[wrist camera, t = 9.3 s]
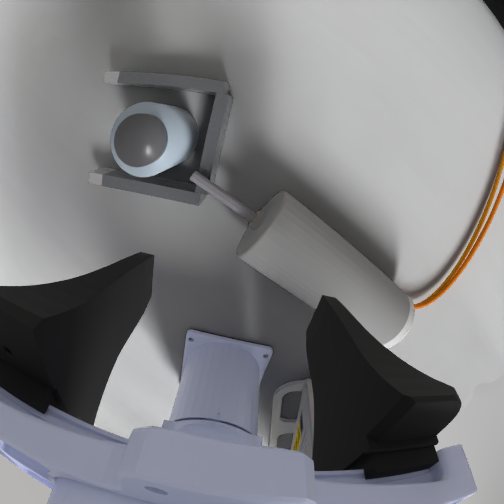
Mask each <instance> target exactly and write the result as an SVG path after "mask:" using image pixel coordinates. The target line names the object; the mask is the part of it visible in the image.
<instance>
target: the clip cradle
mask: <svg viewBox="0 0 504 504" xmlns="http://www.w3.org/2000/svg"><path fill="white" fill-rule="evenodd" d="M103 82H104V83H109V84H114V85H127V86H143V87H156V88H166V89H175V90H183V91H191V92H198V93H205V94H211V95H216V96H215V100H214V105H213V109H212V113H211V117H210V121H209V126H208V130H207V135H206V139H205V144H204V149H203V153H202V158H201V163H200V168H199V173H200V174H201V175H203V176H204V177H206V178H207V179H208V180H210V181H211V182H213V183H214V180H215V176H216V171H217V166H218V162H219V157H220V153H221V148H222V144H223V140H224V135H225V131H226V127H227V123H228V118H229V114H230V110H231V106H232V102H233V98H232V97H231V96H230V95H228V94H229V90H230V86H229V84H228V83H227V82H225V81H219V80H213V79H206V78H199V77H191V76H183V75H173V74H162V73H147V72H120V71H105V75H104V79H103ZM88 183H91V184H96V185H101V186H106V187H112V188H117V189H122V190H127V191H132V192H137V193H142V194H146V195H151V196H156V197H161V198H165V199H170V200H175V201H179V202H184V203H188V204H193V205H197V206H199V205H200V203H201V202H202V201H203V200H204V199H205V197H206V195H207V194H208V192H207V191H205V190H204V189H203V188H201V187H200V186H198V185H197V184H191V183H187V182H182V181H177V180H172V179H167V178H162V177H157V176H150V177H137V176H133V175H131V174H129V173H127V172H125V171H124V170H118V169H112V168H106V167H103V168H100V169H97V170H94V171H92V172H89V182H88Z"/></svg>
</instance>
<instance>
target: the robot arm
mask: <svg viewBox="0 0 504 504" xmlns="http://www.w3.org/2000/svg"><path fill="white" fill-rule="evenodd" d="M153 264H154V255H150V254H146V253H143V252H140V253H137V254H134V255H132V256H130V257H127V258H125V259H123V260H120V261H118V262H116V263H114V264H111V265H109V266H107V267H104V268H101V269H99V270H96V271H94V272H91V273H88V274H85V275H82V276H79V277H75V278H72V279H68V280H64V281H58V282H53V283H48V284H41V285H32V286H0V454H1V455H2V456H4V457H5V458H7V459H8V460H9V461H10V462H12V463H13V464H15V465H16V466H17V467H19V468H20V469H22V470H23V471H24V472H26V473H27V474H29V475H30V476H32V477H33V478H35V479H37V480H38V481H39V482H41V483H43V484H44V485H46V486H48V487H49V488H51V489H52V492H51V494H50V497H49V500H48V502H47V504H457V503H459V502H461V501H462V500H464V499H466V498H467V497H469V496H471V495H472V494H474V493H475V492H476V491H477V487H476V484H475V482H474V478H473V475H472V472H471V469H470V467H469V464H468V461H467V458H466V455H465V453H464V450H463V448H462V445H460V444H459V445H455V446H451V447H446V448H443V449H441V450H439V451H437V452H436V450H435V447H434V445H437V444H438V439H437V436H436V435H437V434H438V433H439V432H440V431H441V430H442V429H444V428H445V427H446V426H447V425H448V424H449V423H450V422H451V421H452V420H453V419H454V417H455V416H456V415H457V413H458V412H459V410H460V408H461V400H460V398H459V396H458V394H457V392H456V390H455V389H454V387H452V386H449V385H447V384H445V383H442V382H440V381H438V380H435V379H433V378H431V377H429V376H427V375H426V374H424V373H422V372H420V371H418V370H417V369H415V368H413V367H412V366H410V365H409V364H407V363H406V362H404V361H403V360H401V359H400V358H399V357H397V356H396V355H394V354H393V353H392V352H391V351H389V350H388V349H387V348H386V347H385V346H383V345H382V344H381V343H380V342H379V341H378V340H377V339H376V338H375V337H374V336H372V335H371V334H370V333H369V332H368V331H367V330H366V329H365V328H364V327H363V326H362V324H361V323H360V322H359V321H358V320H357V319H356V318H355V317H354V316H353V315H352V314H351V313H350V312H349V311H348V309H347V308H346V307H345V306H344V305H343V304H342V303H341V302H340V301H339V300H338V299H336V298H335V297H330V296H325V295H322V297H321V299H320V301H319V304H318V306H317V308H316V311H315V313H314V315H313V318H312V320H311V322H310V324H309V327H308V329H307V331H306V347H307V357H308V364H309V370H310V376H311V383H312V389H313V398H314V439H313V452H312V459H310V458H309V457H308V456H306V455H305V454H303V453H302V452H300V451H294V450H289V449H284V448H277V447H267V446H262V437H261V436H257V430H258V407H259V384H260V382H261V379H262V377H263V375H264V372H265V370H266V368H267V365H268V363H269V360H270V358H271V356H272V353H273V349H272V348H271V347H269V346H264V345H259V344H254V343H249V342H244V341H240V340H235V339H230V338H226V337H221V336H217V335H213V334H209V333H204V332H200V331H196V330H188V331H187V334H186V341H185V349H184V357H183V365H182V374H181V382H180V386H179V389H178V392H177V396H176V399H175V403H174V406H173V410H172V413H171V417H170V420H169V421H168V420H164V422H163V425H162V427H156V426H149V427H142V428H137V429H133V431H132V433H131V435H130V437H129V439H126V438H123V437H121V436H118V435H115V434H113V433H110V432H107V431H105V430H102V429H100V428H97V427H95V426H93V425H94V421H95V418H96V414H97V411H98V407H99V404H100V401H101V398H102V395H103V392H104V390H105V387H106V384H107V382H108V379H109V376H110V374H111V371H112V369H113V367H114V364H115V362H116V360H117V357H118V355H119V354H120V352H121V350H122V348H123V346H124V345H125V343H126V341H127V340H128V338H129V337H130V335H131V333H132V332H133V330H134V328H135V327H136V325H137V323H138V322H139V320H140V319H141V317H142V315H143V314H144V311H145V309H146V307H147V305H148V302H149V300H150V298H151V293H152V277H153ZM190 338H193V339H190ZM265 354H267V355H265Z"/></svg>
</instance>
